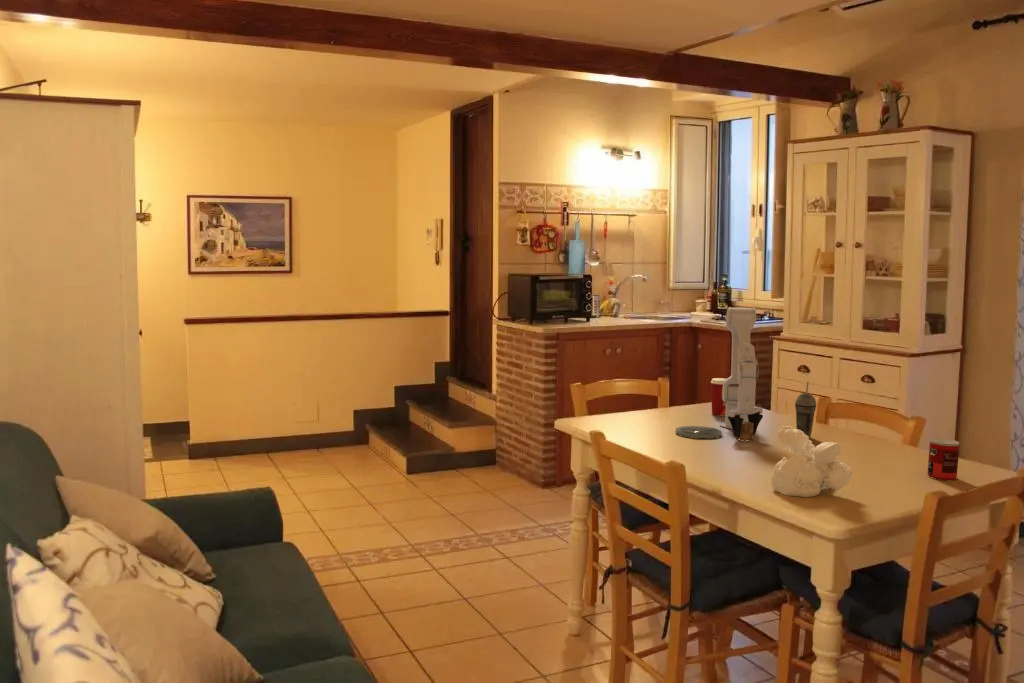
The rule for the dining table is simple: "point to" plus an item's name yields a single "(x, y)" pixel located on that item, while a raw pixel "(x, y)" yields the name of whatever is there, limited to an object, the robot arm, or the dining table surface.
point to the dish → (698, 432)
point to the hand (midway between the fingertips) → (744, 435)
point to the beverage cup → (805, 412)
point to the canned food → (943, 458)
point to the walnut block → (746, 431)
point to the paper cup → (718, 397)
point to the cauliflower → (808, 466)
